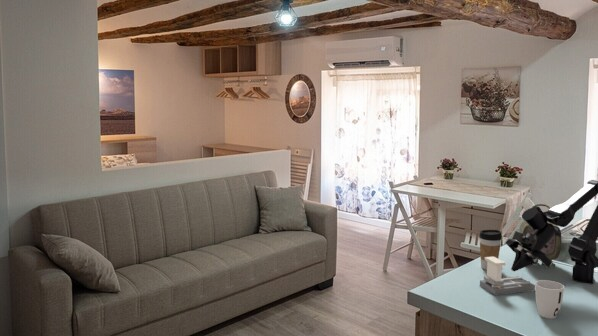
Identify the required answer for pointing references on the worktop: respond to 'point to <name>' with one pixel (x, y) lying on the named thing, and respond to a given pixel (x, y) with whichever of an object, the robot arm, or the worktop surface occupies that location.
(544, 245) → the robot arm
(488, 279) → the plate
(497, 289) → the fader console
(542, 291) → the cup
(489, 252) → the coffee cup
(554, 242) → the tabletop clock
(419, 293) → the worktop surface
